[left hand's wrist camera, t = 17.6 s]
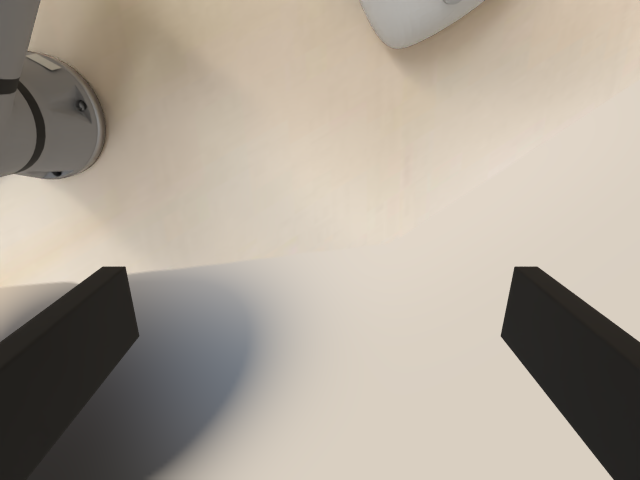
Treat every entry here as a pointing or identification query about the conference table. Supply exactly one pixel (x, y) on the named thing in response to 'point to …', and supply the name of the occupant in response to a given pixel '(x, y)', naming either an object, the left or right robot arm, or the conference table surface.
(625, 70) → the conference table surface
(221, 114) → the conference table surface
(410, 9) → the projector
